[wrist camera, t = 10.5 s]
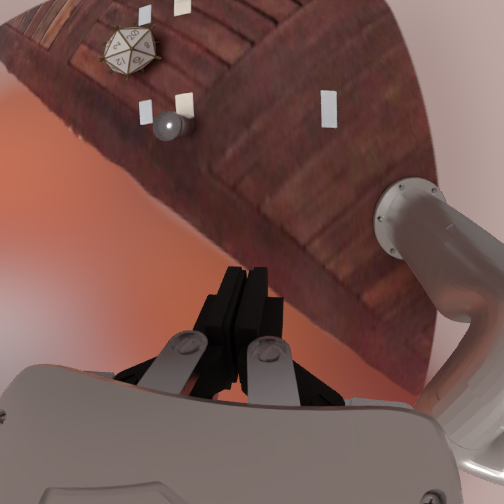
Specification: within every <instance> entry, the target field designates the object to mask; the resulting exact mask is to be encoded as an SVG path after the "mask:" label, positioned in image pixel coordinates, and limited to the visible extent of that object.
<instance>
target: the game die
mask: <svg viewBox="0 0 504 504" xmlns="http://www.w3.org/2000/svg"><path fill="white" fill-rule="evenodd" d="M154 27H155V24H154V25H152V26H150V28H143V27H135V23H133V24H132V27H127V28H121V29H119V27H118V26H117V25H115V26H114V28H115V29H116V32H115V33H114V34H113V35H112V37H111V38H110V39H109V41H108V42H107V43H106V42H103V43H102V45H104V46H105V45H106V47H105V52H104V57H103V58H101V59H100V58H99V60H98V62H101V61H103V60H104V61H105V62H106V63H107V65H108V66H109V67H110V68H111V70H110V71H109V74H112V73H113V71H115V72H118V73H121V74H124V75H126V78H125V79H126V80H127V81H128V79H129V75H130V74H132V73H134V72H137V71H139V70H141V71H142V72H145V70H144V69H143V68H144V67H145V66H146V65H147V64H149V63H150V62H151V61H152V60H154V59H155V58H156V59H158V60H159V59H162V58H161V57H160V56H156V45H155V44H158V43H159V42H160V41H158V40H157V41H155V40H154V37H153V33H152V29H153V28H154Z"/></svg>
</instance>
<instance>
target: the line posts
mask: <svg viewBox="0 0 504 504" xmlns="http://www.w3.org/2000/svg"><path fill="white" fill-rule="evenodd" d="M195 128H196V120H195V118H194V117H192V116H191V115H188V114H177V113H175V112H173V111H164V112H161V113H160V114H158V115H157V116H156V118H155V119H154V122H153V132H154V134H155V136H156V137H157V138H158V139H160V140H163V141H169V140H173V139H175V138H177V137H178V136H185V135H189V134H191V133H193V132H194V130H195Z"/></svg>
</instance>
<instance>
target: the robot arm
mask: <svg viewBox="0 0 504 504" xmlns="http://www.w3.org/2000/svg"><path fill="white" fill-rule="evenodd" d="M399 185H401V186H400V187H399ZM379 216H380V218H379V219H377V218H378V217H379ZM373 228H374V233H375V236H376V238H377V241H378V242H379V244H380V245H381V247H382V248H383V249H384V250H385V252H387V253H388V254H389V255H391V256H393V257H395V258H398V259H402V260H404V261H405V262H406V263H407V265H408V266H409V268H410V269H411V271H412V272H413V274H414V275H415V276H416V278H417V279H418V281H419V282H420V284H421V285H422V287H423V288H424V290H425V292H426V293H427V295H428V296H429V298H430V299H431V301H432V302H433V304H434V306H435V307H436V308H437V310H438V311H439V312H440V313H441V314H442V315H444V316H445V317H447V318H448V319H450V320H453V321H457V322H464V323H470V326H469V329H468V331H467V332H466V334H465V335H464V337H463V338H462V340H461V341H460V343H459V345H458V346H457V348H456V349H455V351H454V352H453V353H452V355H451V356H450V357H449V359H448V360H447V361H446V362H445V364H444V365H443V366H442V367H441V369H440V370H439V371H438V372H437V373H436V375H435V376H434V377H433V378H432V380H431V381H430V382H429V383H428V384H427V386H426V387H425V388H424V390H423V391H422V392H421V394H420V395H419V397H418V399H417V401H416V403H415V407H414V409H413V407H411V406H410V405H408V404H406V403H402V402H392V401H381V400H372V399H364V398H356V397H352V399H351V400H350V399H343V398H342V396H341V395H340V394H339V393H337V392H336V391H335V390H333V389H332V388H330V387H329V386H327V385H326V384H325V383H323V382H322V381H320V380H319V379H318V378H316V377H315V376H314V375H312V374H311V373H310V372H308V371H307V370H305V369H304V368H303V367H301V366H300V365H299V364H297V363H296V362H295V361H293V360H292V355H291V349H290V347H289V344H288V343H287V342H285V340H283V339H282V328H283V301H284V297H268V270H267V267H254V270H249V274H248V278H247V275H246V270H242V267H233V266H232V267H230V266H229V267H228V269H227V271H226V273H225V276H224V278H223V281H222V283H221V286H220V288H219V290H218V293H217V295H211V294H210V295H208V296H207V299H206V301H205V303H204V305H203V307H202V310H201V312H200V314H199V317H198V319H197V321H196V323H195V325H194V328H193V330H189V331H183V332H179V333H178V334H176V335H174V336H173V337H172V338H171V339H170V340H169V341H168V343H167V344H166V345H165V347H164V348H163V350H162V351H161V352H160V354H159V355H158V356H157V357H154V358H152V359H150V360H147V361H145V362H143V363H140V364H138V365H136V366H133V367H131V368H129V369H126V370H124V371H122V372H120V373H118V374H117V375H115V374H114V373H111V372H94V371H81V370H78V369H74V368H70V367H66V366H61V365H53V364H38V365H32V366H29V367H27V368H25V369H24V370H23V371H21V372H20V373H19V374H18V375H17V376H16V377H15V379H14V380H13V381H12V382H11V383H10V385H9V386H8V387H7V389H6V390H5V391H4V392H3V394H2V395H1V397H0V504H463V496H462V489H461V482H460V477H459V473H458V469H459V470H462V471H464V472H467V473H469V474H472V475H474V476H476V477H479V478H481V479H484V480H487V481H489V482H492V483H495V484H499V485H502V486H504V244H503V243H502V242H500V241H499V240H497V239H496V238H495V237H493V236H492V235H491V234H490V233H488V232H487V231H486V230H484V229H483V228H481V227H480V226H478V225H477V224H476V223H474V222H473V221H471V220H470V219H469V218H467V217H466V216H464V215H463V214H461V213H460V212H458V211H457V210H455V209H454V208H452V207H451V206H449V205H448V204H447V203H446V200H445V197H444V195H443V193H442V192H441V191H440V189H439V188H438V187H437V186H436V185H434V184H433V183H432V182H430V181H428V180H426V179H423V178H421V177H406V178H403V179H400V180H398V181H396V182H394V183H393V184H391V185H390V186H389V187H388V188H387V189H386V190H385V191H384V192H383V194H382V195H381V196H380V198H379V200H378V202H377V204H376V207H375V210H374V216H373ZM238 374H239V379H240V383H241V387H242V391H243V392H244V393H245V394H246V395H247V396H248V403H238V402H229V401H220V400H218V396H219V395H218V393H219V392H221V391H222V390H224V389H227V390H230V389H231V385H232V382H233V383H236V382H237V378H238Z"/></svg>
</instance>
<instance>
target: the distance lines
mask: <svg viewBox="0 0 504 504" xmlns="http://www.w3.org/2000/svg"><path fill="white" fill-rule="evenodd" d="M151 8H152V5H148V6H145V7H142V8H139V26H141V25H145V24H148V23H151ZM188 13H191V0H174V16H179V15H183V14H188ZM175 98H176V113H177V114H188V115H191V116H192V117H194V105H193V93H186V94H180V95H175ZM139 107H140V123H141V125H143V124H148V123H153V113H152V100H147V101H143V102H139ZM321 117H322V127H330V128H337V99H336V91H323V90H321Z"/></svg>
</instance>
